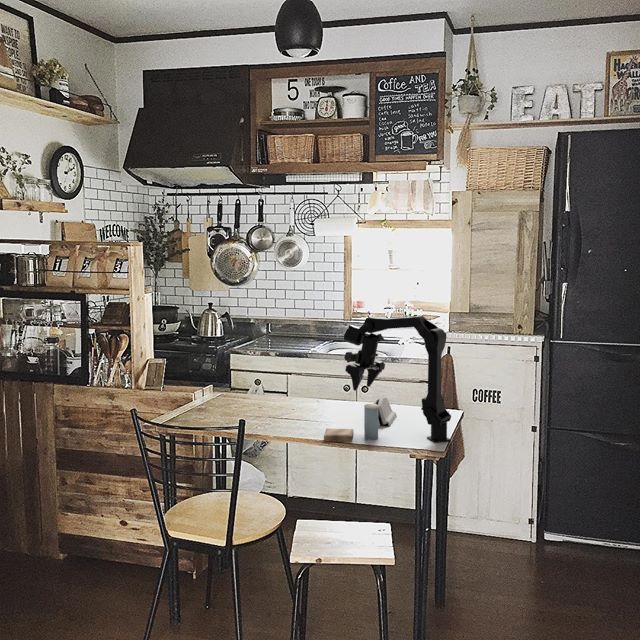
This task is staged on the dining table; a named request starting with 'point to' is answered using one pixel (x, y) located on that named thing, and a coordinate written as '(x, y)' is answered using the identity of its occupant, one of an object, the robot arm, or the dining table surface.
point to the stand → (338, 435)
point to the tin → (371, 421)
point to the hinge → (385, 412)
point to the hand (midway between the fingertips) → (361, 388)
